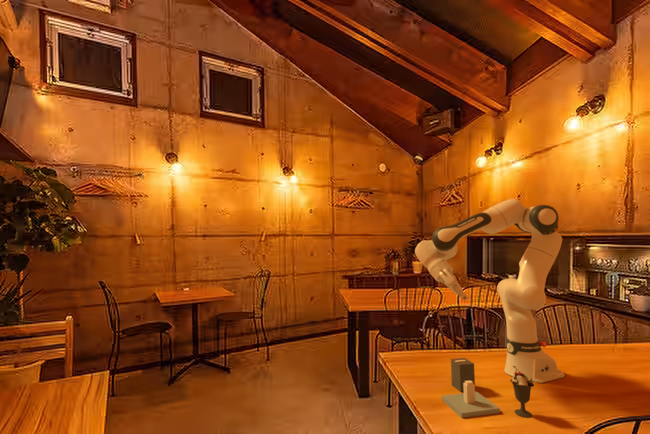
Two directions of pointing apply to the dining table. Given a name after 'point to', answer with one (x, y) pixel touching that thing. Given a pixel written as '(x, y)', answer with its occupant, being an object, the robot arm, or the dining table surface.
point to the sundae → (522, 392)
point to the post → (470, 402)
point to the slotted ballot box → (461, 372)
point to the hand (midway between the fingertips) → (464, 297)
